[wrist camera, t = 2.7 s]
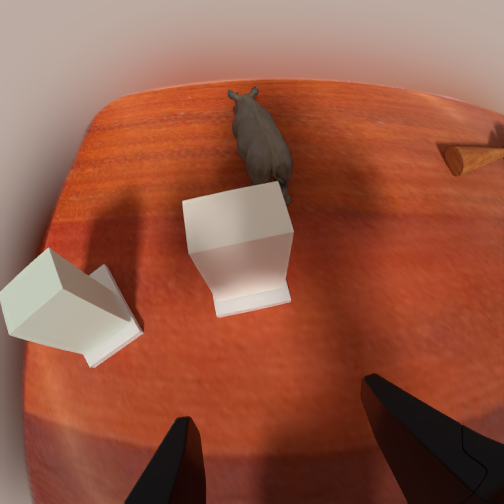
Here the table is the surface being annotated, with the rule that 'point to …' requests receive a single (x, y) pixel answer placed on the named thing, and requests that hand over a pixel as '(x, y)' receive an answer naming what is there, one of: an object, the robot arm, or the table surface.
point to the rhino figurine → (260, 143)
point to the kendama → (470, 158)
